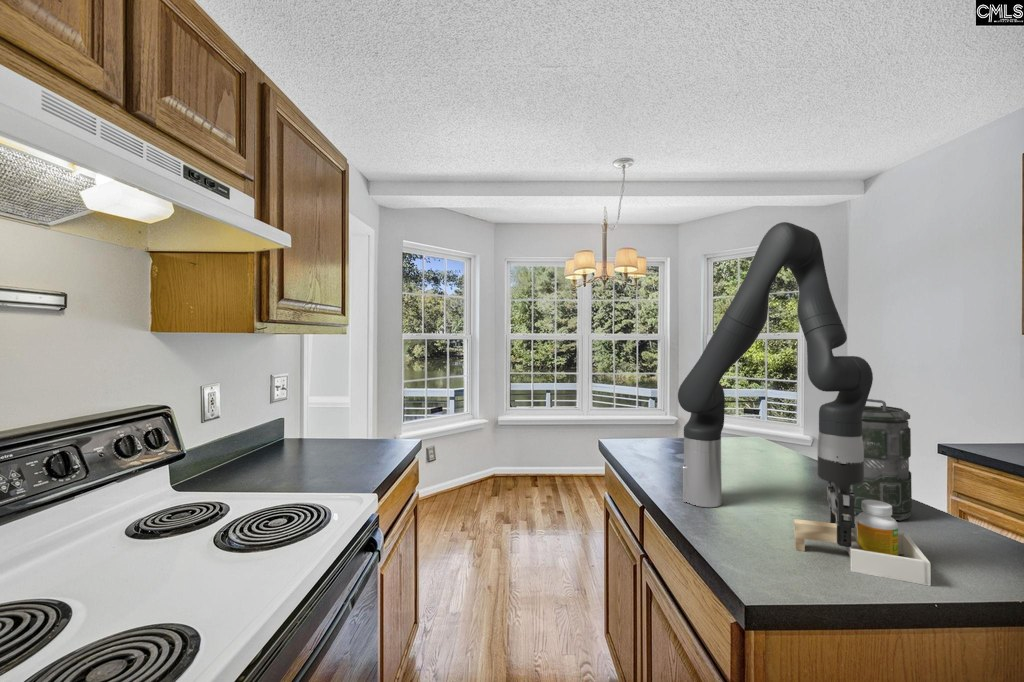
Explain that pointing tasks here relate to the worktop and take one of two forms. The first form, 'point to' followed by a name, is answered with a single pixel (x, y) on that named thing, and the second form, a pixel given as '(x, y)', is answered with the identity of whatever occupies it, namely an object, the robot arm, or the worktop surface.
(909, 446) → the canister
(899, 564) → the box
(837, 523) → the robot arm
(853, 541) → the scraper
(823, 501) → the worktop surface
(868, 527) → the supplement bottle
